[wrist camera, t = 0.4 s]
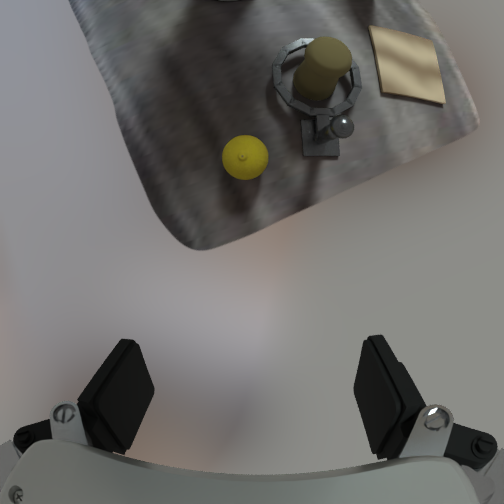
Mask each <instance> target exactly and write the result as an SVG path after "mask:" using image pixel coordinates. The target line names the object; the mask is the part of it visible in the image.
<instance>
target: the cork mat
mask: <svg viewBox="0 0 504 504" xmlns="http://www.w3.org/2000/svg"><path fill="white" fill-rule="evenodd" d="M368 28H369V32H370V37H371V41H372V45H373V50H374V55H375V60H376V65H377V71H378V77H379V83H380V90H381V93H388V94H394V95H401V96H406V97H412V98H417V99H422V100H427V101H431V102H436V103H440V104H446V103H445V96H444V90H443V85H442V79H441V75H440V70H439V65H438V61H437V57H436V53H435V49H434V46H433V42H432V41H431V40H428V39H425V38H421V37H418V36H415V35H411V34H407V33H404V32H400V31H396V30H391V29H387V28H382V27H377V26H372V25H369V27H368Z"/></svg>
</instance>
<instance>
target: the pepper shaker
mask: <svg viewBox="0 0 504 504" xmlns="http://www.w3.org/2000/svg"><path fill="white" fill-rule="evenodd" d="M304 57H305V60H304V61H303V62H302V63H301V65H300V66H299V67H298V68H297V69H296V71H295V73H294V76H293V83H294V86H295V88H296V90H297V91H298V92H299V93H300V94H301V95H302V96H303V97H305V98H308V99H310V100H315V101H317V100H324V99H326V98H328V97H329V96H330V95H332V94H333V92H334V90H335V87H336V85H337V82H338V79H339V77H342V76H344V75H345V74H346V73H347V72H348V71H349V70H350V68H351V65H352V55H351V52H350V50H349V49H348V48H347V46H346V45H345V44H344V43H342V42H341V41H339V40H337V39H335V38H331V37H319V38H316V39H314V40H313V41H311V42H310V43H309V44H308V45H307V47H306V49H305V55H304Z"/></svg>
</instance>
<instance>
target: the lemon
mask: <svg viewBox="0 0 504 504" xmlns="http://www.w3.org/2000/svg"><path fill="white" fill-rule="evenodd" d="M222 162H223V165H224V167H225V169H226V171H227V172H228V173H229V174H230V175H231V176H233V177H235V178H237V179H241V180H249V179H253V178H255V177H257V176H259V175H260V174H261V173H262V172H263V171H264V170H265V168H266V166H267V163H268V151H267V149H266V147H265V145H264V144H263V143H262V141H260V140H259V139H258V138H256V137H253V136H250V135H241V136H237V137H234V138H233V139H231V140H230V141H229V142H228V143H227V144H226V146H225V148H224V150H223V153H222Z"/></svg>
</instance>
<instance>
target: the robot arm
mask: <svg viewBox="0 0 504 504" xmlns="http://www.w3.org/2000/svg"><path fill="white" fill-rule="evenodd" d="M220 1H238V0H220ZM153 395H154V386H153V383H152V380H151V378H150V375H149V372H148V370H147V367H146V364H145V361H144V358H143V355H142V352H141V349H140V346H139V344H137V343H136V342H135V341H134V340H130V339H121V340H120V341H119V343H118V344H117V345H116V346H115V348H114V349H113V350H112V352H111V353H110V354H109V356H108V357H107V359H106V360H105V361H104V363H103V364H102V365H101V367H100V368H99V369H98V371H97V372H96V374H95V375H94V376H93V378H92V379H91V381H90V382H89V384H88V385H87V386H86V388H85V389H84V391H83V392H82V393H81V395H80V396H79V398H78V399H77V400H78V401H79V402H78V403H77V405H76V404H75V403H73V402H71V401H64V402H60V403H58V404H57V405H55V406H54V407H53V408H52V410H51V412H50V419H48V420H44V421H41V422H38V423H34V424H31V425H27V426H24V427H22V428H20V429H18V430H17V431H16V433H15V435H14V438H13V442H12V441H11V440H9V441H7V442H5V443H4V444H2V445H0V504H504V449H501V450H498V449H497V442H496V440H495V438H494V437H493V436H492V435H490V434H488V433H485V432H481V431H478V430H475V429H471V428H468V427H465V426H461V425H458V424H455V423H453V421H454V418H453V415H452V413H451V412H450V410H449V409H447V408H446V407H444V406H442V405H436V404H435V405H430V406H426V404H425V402H424V400H423V399H422V397H421V395H420V393H419V391H418V389H417V388H416V386H415V384H414V382H413V380H412V379H411V377H410V375H409V373H408V371H407V370H406V368H405V366H404V365H403V364H402V363H401V362H398V360H397V358H396V357H395V355H394V353H393V352H392V350H391V348H390V346H389V345H388V343H387V342H386V340H385V338H384V337H383V335H374V336H369V337H368V338H367V340H364V342H363V346H362V351H361V356H360V361H359V365H358V370H357V374H356V379H355V383H354V395H355V398H356V401H357V404H358V407H359V411H360V413H361V417H362V420H363V424H364V427H365V430H366V434H367V437H368V441H369V444H370V448H371V451H372V453H373V454H376V455H377V458H378V460H379V459H383V458H387V461H382V462H376V463H371V464H366V465H361V466H356V467H350V468H343V469H336V470H329V471H321V472H312V473H300V474H282V475H242V474H241V475H240V474H224V473H212V472H203V471H194V470H187V469H181V468H174V467H168V466H163V465H158V464H154V463H149V462H145V461H140V460H136V459H132V458H129V457H125V456H121V455H118V454H114V453H113V452H116V453H119V454H123V455H124V454H125V452H126V450H127V449H130V447H131V445H132V443H133V441H134V438H135V436H136V434H137V431H138V429H139V427H140V424H141V422H142V420H143V418H144V415H145V413H146V411H147V408H148V406H149V404H150V402H151V400H152V397H153Z"/></svg>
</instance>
